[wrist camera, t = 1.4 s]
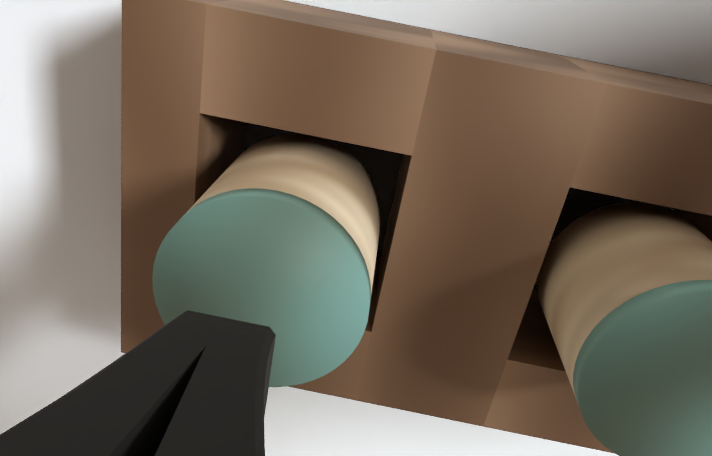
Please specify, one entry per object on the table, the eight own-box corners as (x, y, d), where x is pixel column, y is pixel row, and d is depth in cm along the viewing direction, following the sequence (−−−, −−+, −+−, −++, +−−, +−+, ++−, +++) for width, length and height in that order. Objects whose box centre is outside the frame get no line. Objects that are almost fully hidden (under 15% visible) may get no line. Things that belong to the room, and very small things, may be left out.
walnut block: (800, 102, 15) (927, 147, 11) (660, 375, 19) (720, 475, 15) (192, -18, 15) (122, -13, 11) (178, 277, 19) (121, 351, 15)
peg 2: (739, 221, 13) (865, 318, 9) (669, 359, 15) (752, 487, 11) (567, 186, 13) (625, 270, 10) (516, 328, 15) (549, 445, 11)
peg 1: (396, 152, 13) (389, 223, 10) (364, 298, 15) (349, 404, 11) (226, 118, 13) (155, 175, 10) (214, 267, 15) (149, 364, 11)
